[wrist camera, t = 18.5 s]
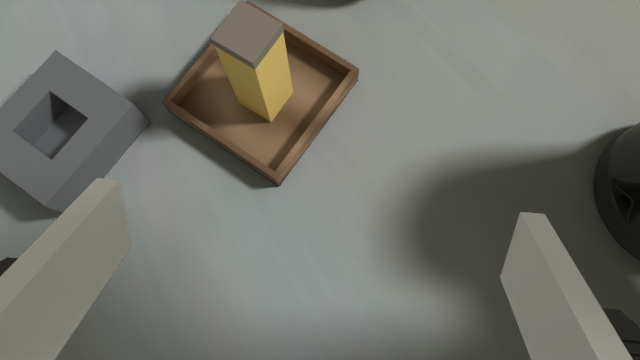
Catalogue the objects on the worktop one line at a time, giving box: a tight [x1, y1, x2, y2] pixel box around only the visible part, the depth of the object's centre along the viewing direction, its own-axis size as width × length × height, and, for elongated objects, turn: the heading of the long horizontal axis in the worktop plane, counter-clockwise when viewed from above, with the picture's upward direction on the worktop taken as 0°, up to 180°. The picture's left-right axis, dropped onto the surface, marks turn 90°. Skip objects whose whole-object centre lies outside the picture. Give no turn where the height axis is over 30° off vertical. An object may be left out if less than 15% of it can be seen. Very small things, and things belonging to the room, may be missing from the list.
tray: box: [162, 1, 359, 186], centre depth 48 cm, size 14×14×2 cm
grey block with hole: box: [0, 50, 150, 213], centre depth 46 cm, size 12×10×4 cm
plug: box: [210, 0, 293, 122], centre depth 43 cm, size 4×4×12 cm
